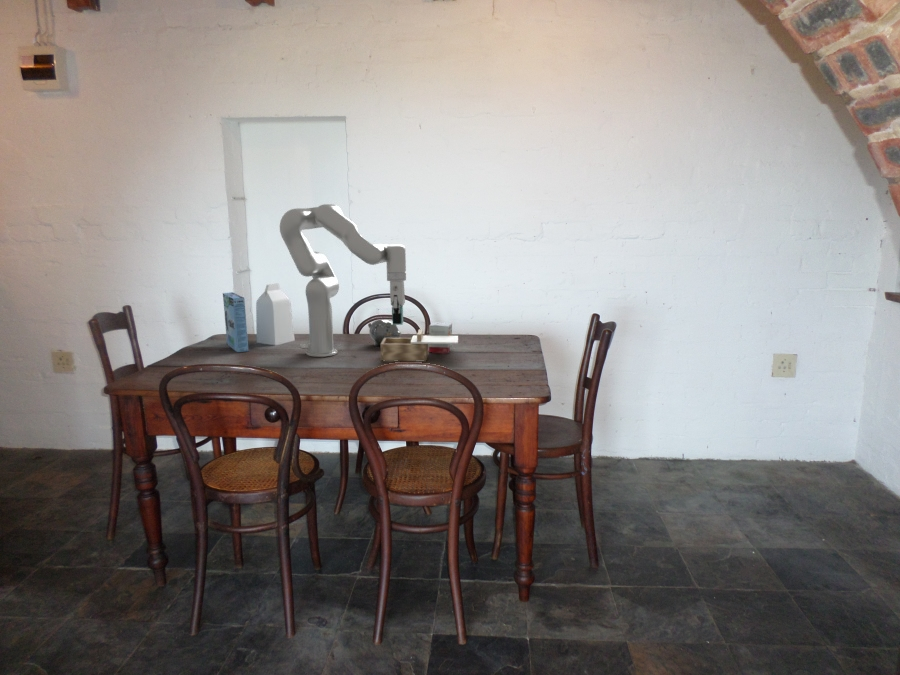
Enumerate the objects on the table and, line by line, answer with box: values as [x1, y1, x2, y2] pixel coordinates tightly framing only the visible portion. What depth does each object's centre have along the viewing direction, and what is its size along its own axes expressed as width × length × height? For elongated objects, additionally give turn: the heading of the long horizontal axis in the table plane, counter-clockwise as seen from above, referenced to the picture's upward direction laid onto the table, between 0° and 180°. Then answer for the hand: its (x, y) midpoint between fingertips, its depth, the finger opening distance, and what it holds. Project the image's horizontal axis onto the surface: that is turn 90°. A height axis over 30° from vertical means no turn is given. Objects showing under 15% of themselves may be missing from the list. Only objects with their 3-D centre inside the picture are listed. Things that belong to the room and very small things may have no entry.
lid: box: [411, 329, 459, 345], centre depth 253 cm, size 19×13×4 cm
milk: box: [255, 283, 296, 346], centre depth 282 cm, size 12×12×26 cm
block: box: [391, 305, 404, 326], centre depth 251 cm, size 4×4×7 cm
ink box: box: [428, 321, 453, 354], centre depth 266 cm, size 9×9×12 cm
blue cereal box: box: [222, 291, 249, 353], centre depth 269 cm, size 20×5×23 cm, turn 31°
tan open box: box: [379, 337, 429, 363], centre depth 254 cm, size 18×12×7 cm, turn 89°
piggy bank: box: [367, 318, 402, 347], centre depth 276 cm, size 11×15×12 cm
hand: (397, 321), depth 252 cm, fingers closed on block, 4 cm apart
